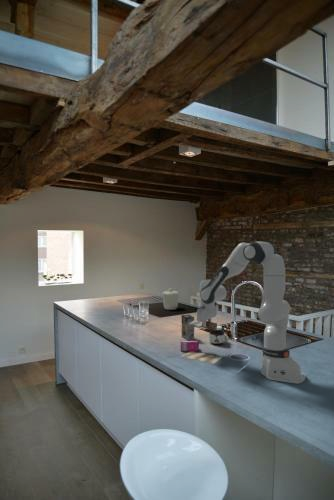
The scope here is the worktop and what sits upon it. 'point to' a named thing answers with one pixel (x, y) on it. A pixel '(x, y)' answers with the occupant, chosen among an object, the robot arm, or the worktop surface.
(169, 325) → the worktop surface
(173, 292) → the canister
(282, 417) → the worktop surface
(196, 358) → the board
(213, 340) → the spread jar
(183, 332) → the coffee box
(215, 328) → the paddle
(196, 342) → the supplement box
